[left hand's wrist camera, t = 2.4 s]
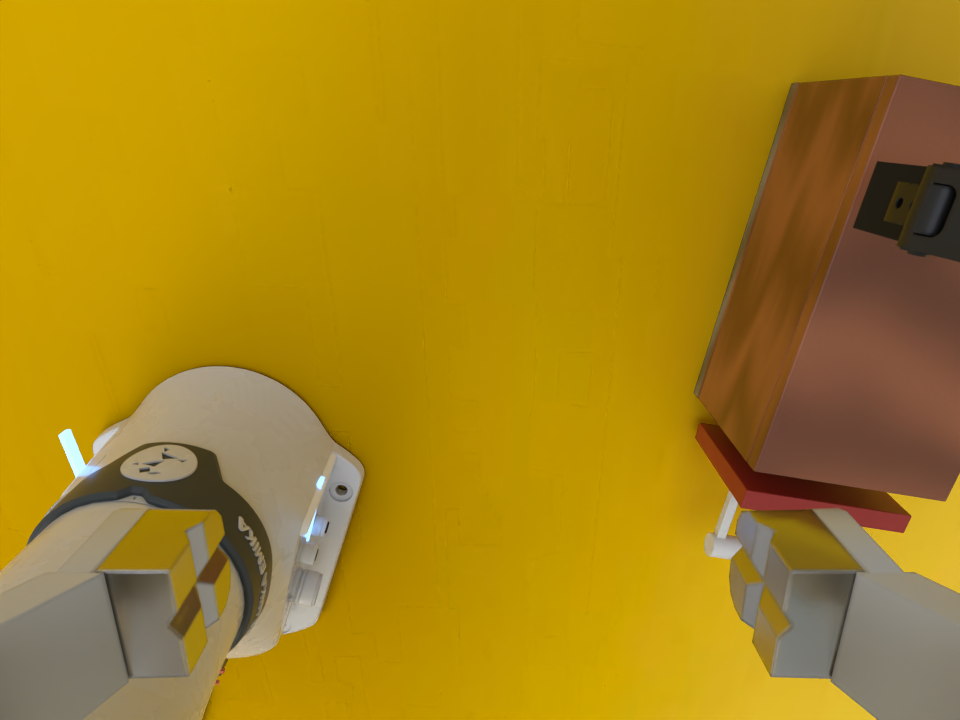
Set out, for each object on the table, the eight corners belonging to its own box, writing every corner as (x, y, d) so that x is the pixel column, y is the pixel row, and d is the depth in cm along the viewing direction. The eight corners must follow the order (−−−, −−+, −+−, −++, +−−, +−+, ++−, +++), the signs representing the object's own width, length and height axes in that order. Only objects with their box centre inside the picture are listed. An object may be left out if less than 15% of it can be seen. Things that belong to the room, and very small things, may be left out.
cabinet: (846, 417, 46) (946, 502, 36) (693, 392, 46) (753, 471, 36) (969, 117, 39) (1135, 120, 29) (792, 82, 39) (900, 73, 29)
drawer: (800, 530, 49) (864, 615, 40) (670, 511, 48) (709, 592, 40) (941, 189, 40) (1059, 209, 32) (785, 159, 39) (864, 172, 31)
